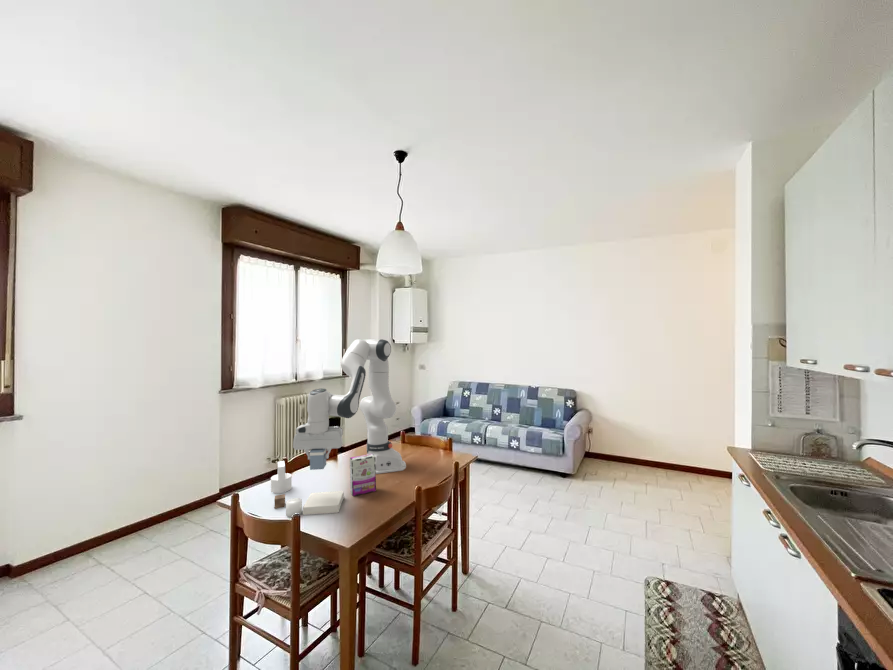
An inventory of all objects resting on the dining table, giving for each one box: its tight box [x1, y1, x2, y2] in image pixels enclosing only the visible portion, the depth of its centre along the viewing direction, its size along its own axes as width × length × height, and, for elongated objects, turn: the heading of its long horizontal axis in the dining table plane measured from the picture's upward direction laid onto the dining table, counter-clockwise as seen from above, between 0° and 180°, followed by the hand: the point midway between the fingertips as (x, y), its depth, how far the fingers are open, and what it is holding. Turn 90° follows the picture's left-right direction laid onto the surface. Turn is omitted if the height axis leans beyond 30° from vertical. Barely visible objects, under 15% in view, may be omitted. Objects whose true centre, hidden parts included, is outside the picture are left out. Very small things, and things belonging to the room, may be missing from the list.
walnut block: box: [274, 493, 286, 510], centre depth 156 cm, size 4×4×4 cm
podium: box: [302, 490, 345, 516], centre depth 155 cm, size 14×14×3 cm
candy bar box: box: [349, 454, 377, 497], centre depth 169 cm, size 11×5×16 cm, turn 117°
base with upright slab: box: [270, 460, 293, 494], centre depth 173 cm, size 9×9×12 cm
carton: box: [309, 449, 327, 471], centre depth 157 cm, size 6×6×8 cm
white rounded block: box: [285, 497, 303, 518], centre depth 149 cm, size 6×6×5 cm
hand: (318, 458), depth 157 cm, fingers closed on carton, 5 cm apart
